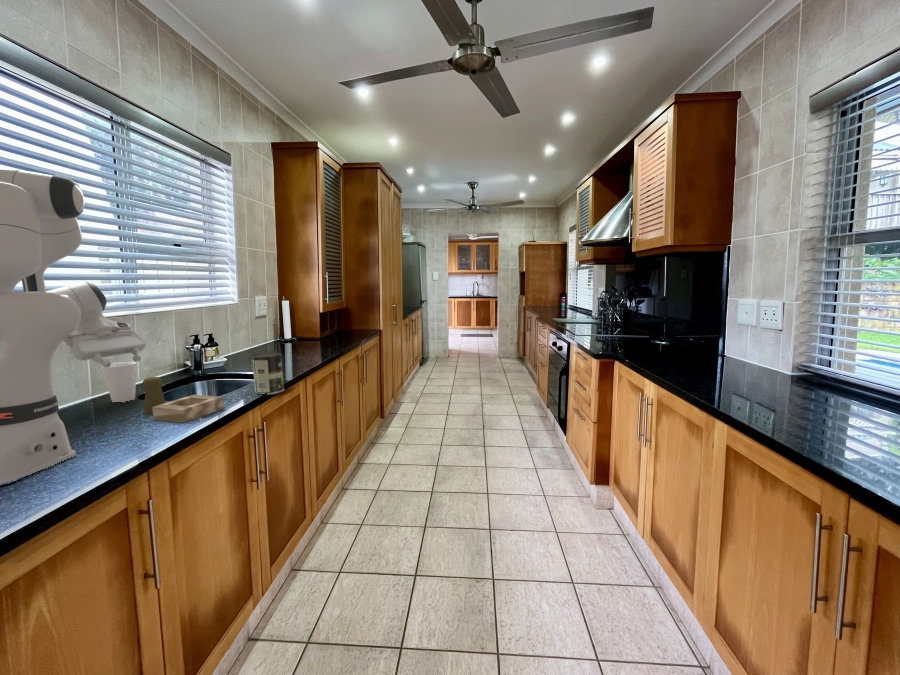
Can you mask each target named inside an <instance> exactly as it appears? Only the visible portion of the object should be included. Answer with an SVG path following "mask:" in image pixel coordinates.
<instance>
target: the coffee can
mask: <svg viewBox="0 0 900 675" xmlns="http://www.w3.org/2000/svg"><path fill="white" fill-rule="evenodd" d="M282 356H283V354H282V352H264V353H257V354H256V353H255V354H253V355H251V359H252V360H251V361H252V370H253V382H254V393H255V392H256V393H267V395H266V396H271V395H276V394H279V393H282V392H284V391H285V383H284V374H283V373H284V371H283V370H284V369H283V358H282Z"/></svg>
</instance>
